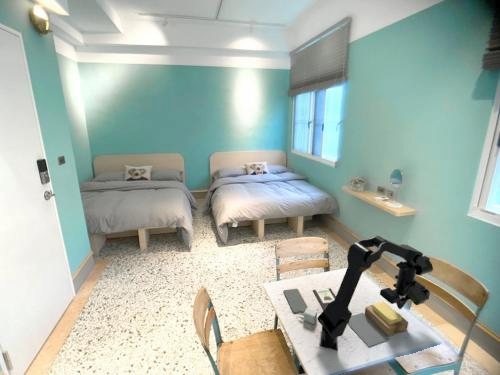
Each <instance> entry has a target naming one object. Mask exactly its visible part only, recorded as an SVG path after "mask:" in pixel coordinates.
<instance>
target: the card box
mask: <svg viewBox="0 0 500 375" xmlns="http://www.w3.org/2000/svg"><path fill="white" fill-rule="evenodd" d="M372 305H373V306H372V309H373V310H374V311H375V312H376V313H377V314H379V315H380V316H381V317H382V318H383V319H384V320H385V321H386V322H387V323H388V324H389V325H390V324H393V323H396V322H399V321H401V320H402V317H403V316H402V315H401V314H400V313H398V311H396V310H395V309H393V308H392V306H390V305H389V304H388V303H387V302H385V301H384V300H383V301H381V302H380V301H379V302H377V303H373V304H372Z"/></svg>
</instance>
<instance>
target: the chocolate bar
mask: <svg viewBox="0 0 500 375" xmlns="http://www.w3.org/2000/svg"><path fill="white" fill-rule="evenodd" d="M312 291H313V294H314V296H315V298H316V299H317V301H318V303H319V304H320V307H321V308H322V310H323V311H324V310H325V309H326V307H327V305H328V303H330V302H332V301H334V300H335V298H336V295H335V293H334V291H333V289H332V288H331V287H330V288H329V287H328V288H320V289H313V290H312Z"/></svg>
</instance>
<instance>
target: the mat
mask: <svg viewBox="0 0 500 375" xmlns="http://www.w3.org/2000/svg"><path fill="white" fill-rule="evenodd" d="M347 326H349V328H351V330H353V331H354V333H355V334H356V335H357V336H358V337H359V338H360V339H361V341H363V343H364V344H365V345H366V347H368V348H370V347H373V346H376V345H378V344H381V343H384V342H386V341H390V337H387V336H386V335H385V334H384V333H383V332H382V331H381V330H380V329H379V328H378V327H377V326H376V325H375V324H374V323H373V322H372V321H371V320H370V319H369V318H368V317H367V316H366V315H365V312H361V313H360V312H359V313H357V314H355V315H352V316H351V318H350V320H349V323H348V324H347Z"/></svg>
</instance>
